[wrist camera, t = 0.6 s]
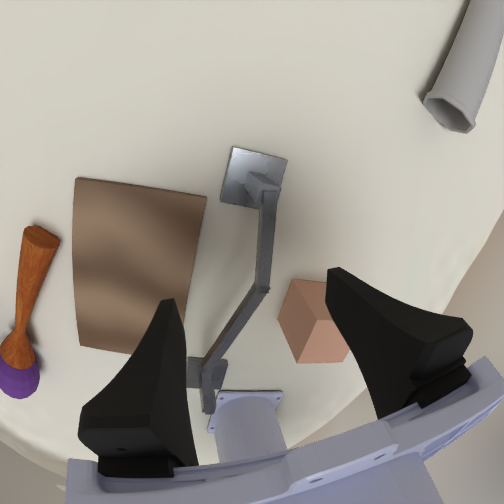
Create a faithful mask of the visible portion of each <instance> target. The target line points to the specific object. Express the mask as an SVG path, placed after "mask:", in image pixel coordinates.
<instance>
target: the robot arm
mask: <svg viewBox="0 0 504 504" xmlns="http://www.w3.org/2000/svg"><path fill="white" fill-rule="evenodd" d="M325 304H326V306H327V309H328V311H329V313H330V315H331V318H332V320H333V321H334V323H335V325H336V326H337V328H338V330H339V332H340V333H341V335H342V336H343V338H344V340H345V341H346V343H347V345H348V346H349V348H350V350H351V351H352V353H353V355H354V357H355V359H356V361H357V363H358V365H359V368H360V370H361V372H362V375H363V377H364V380H365V382H366V385H367V387H368V390H369V392H370V396H371V399H372V401H373V405H374V408H375V411H376V415H377V418H378V420H377V421H374V422H371V423H368V424H365V425H363V426H360V427H358V428H355V429H352V430H350V431H347V432H344V433H341V434H338V435H335V436H332V437H329V438H326V439H323V440H320V441H316V442H313V443H310V444H307V445H305V446H301V447H297V448H294V449H290V450H287V447H286V444H285V441H284V438H283V435H282V431H281V428H280V425H279V422H278V419H277V416H276V413H275V410H276V408H277V407H278V405H279V403H280V401H281V399H282V397H283V395H284V394H283V392H281V391H276V392H232V391H221V392H219V393H218V395H217V398H216V405H217V406H216V410H215V413H214V414H212V415H211V418H210V422H209V425H208V428H207V432H208V433H215V438H216V444H217V451H218V457H219V463H218V464H210V465H201V466H199V463H198V459H197V455H196V450H195V445H194V440H193V435H192V429H191V423H190V416H189V409H188V402H187V390H186V340H185V331H184V327H183V324H182V321H181V318H180V315H179V312H178V309H177V305H176V302H175V299H174V298H170V299H164V300H161V301H160V303H159V305H158V307H157V309H156V312H155V314H154V316H153V318H152V320H151V322H150V324H149V326H148V328H147V330H146V332H145V334H144V336H143V337H142V339H141V341H140V343H139V344H138V346H137V348H136V349H135V351H134V352H133V354H132V355H131V357H130V358H129V360H128V361H127V363H126V364H125V365H124V366H123V368H122V369H121V370H120V371H119V373H118V374H117V375H116V376H115V377H114V378H113V380H112V381H111V382H110V383H109V384H108V385H107V386H106V387H105V388H104V389H103V390H102V391H101V392H99V393H98V394H97V395H96V396H95V397H94V398H92V399H91V400H90V401H89V402H88V403H86V404H85V405H84V406H83V407H82V411H81V414H80V421H79V428H78V438H79V440H80V441H81V442H82V443H83V444H84V445H85V446H86V447H88V448H89V449H90V450H91V451H93V452H94V453H95V454H97V455H98V456H99V457H98V463H97V462H95V461H91V460H81V459H72V458H69V459H68V465H67V478H66V497H65V504H444V503H443V500H442V499H441V497H440V495H439V492H438V490H437V488H436V487H435V484H434V483H433V481H432V479H431V477H430V475H429V473H428V471H427V469H426V467H425V465H424V463H423V461H425V460H427V459H428V458H430V457H431V456H433V455H435V454H436V453H438V452H439V451H441V450H442V449H443V448H445V447H447V446H448V445H449V444H451V443H452V442H454V441H455V440H457V439H458V438H459V437H461V436H462V435H463V434H465V433H466V432H467V431H469V430H470V429H471V428H473V427H474V426H475V425H476V424H477V423H479V422H480V421H482V420H483V419H484V418H486V417H487V416H488V415H489V414H490V413H491V412H492V410H493V409H494V408H495V407H496V406H497V405H498V404H499V403H500V402H501V401H502V400H503V398H504V379H503V377H502V376H501V375H500V373H499V372H498V371H497V370H496V368H495V367H494V366H493V364H492V363H491V362H490V361H489V359H488V358H487V357H486V356H483V357H482V358H480V359H479V360H477V361H476V362H474V363H473V364H471V365H470V366H469V367H468V368H466V367H465V366H464V364H465V362H466V360H465V358H464V357H463V354H464V352H465V351H466V349H467V347H468V346H469V344H470V342H471V340H472V337H473V330H472V329H471V327H470V326H469V325H468V324H467V323H466V322H465V320H464V319H463V318H459V317H452V316H446V315H441V314H437V313H433V312H429V311H425V310H422V309H419V308H416V307H413V306H411V305H408V304H406V303H403V302H401V301H399V300H396V299H394V298H392V297H390V296H388V295H386V294H384V293H382V292H381V291H379V290H377V289H375V288H373V287H372V286H370V285H368V284H367V283H365V282H363V281H362V280H360V279H358V278H357V277H355V276H354V275H352V274H350V273H349V272H347V271H345V270H344V269H342V268H340V267H336V268H331V269H328V271H327V283H326V295H325Z"/></svg>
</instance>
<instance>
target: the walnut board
mask: <svg viewBox="0 0 504 504" xmlns="http://www.w3.org/2000/svg"><path fill="white" fill-rule="evenodd" d="M206 200H207V198H206V196H200V195H194V194H188V193H182V192H176V191H170V190H164V189H158V188H151V187H145V186H138V185H131V184H124V183H117V182H110V181H103V180H95V179H87V178H79V177H78V178H76V179H75V187H74V201H73V225H72V260H73V284H74V298H75V309H76V319H77V327H78V335H79V342H80V346H85V347H90V348H96V349H101V350H107V351H113V352H119V353H125V354H131V355H132V354H133V352H134V351H135V349H136V348H137V346H138V344H139V343H140V341H141V339H142V337H143V336H144V334H145V332H146V330H147V328H148V326H149V324H150V322H151V320H152V318H153V316H154V314H155V312H156V309H157V307H158V305H159V303H160V301H161V300H164V299H170V298H174V299H175V302H176V305H177V309H178V312H179V315H180V318H181V321H182V324H183V323H184V316H185V310H186V304H187V298H188V292H189V287H190V281H191V275H192V270H193V264H194V259H195V254H196V248H197V243H198V238H199V233H200V228H201V223H202V219H203V214H204V209H205V204H206Z"/></svg>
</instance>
